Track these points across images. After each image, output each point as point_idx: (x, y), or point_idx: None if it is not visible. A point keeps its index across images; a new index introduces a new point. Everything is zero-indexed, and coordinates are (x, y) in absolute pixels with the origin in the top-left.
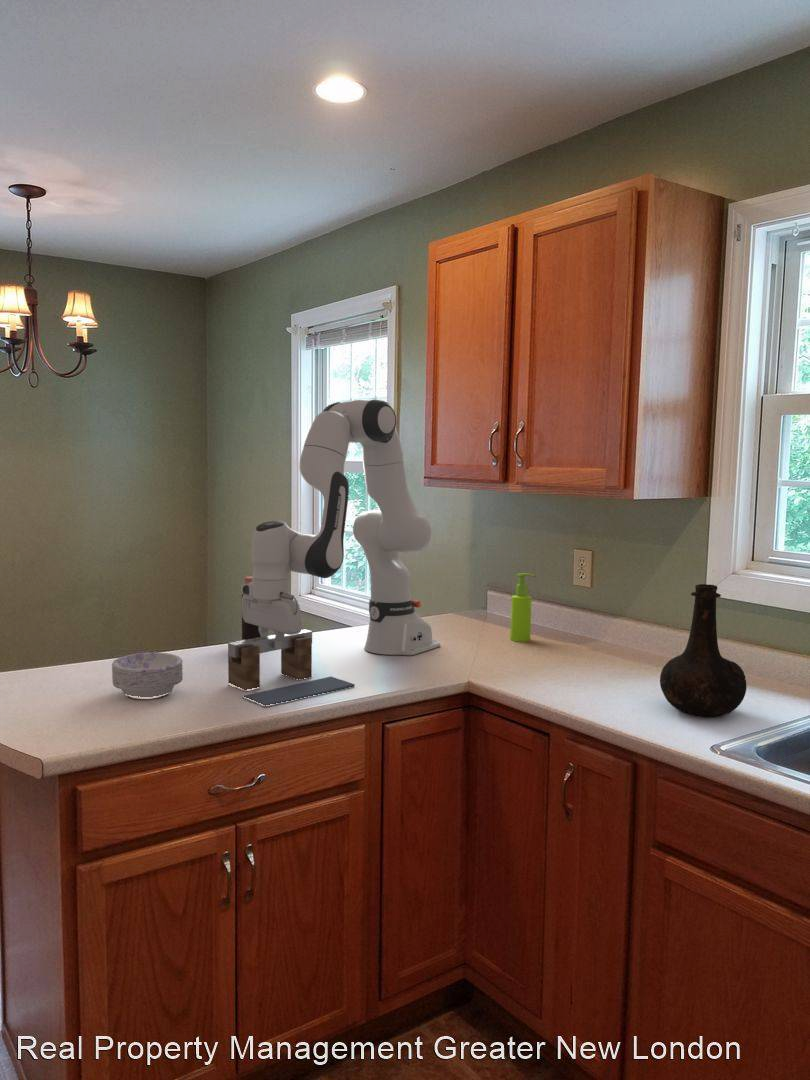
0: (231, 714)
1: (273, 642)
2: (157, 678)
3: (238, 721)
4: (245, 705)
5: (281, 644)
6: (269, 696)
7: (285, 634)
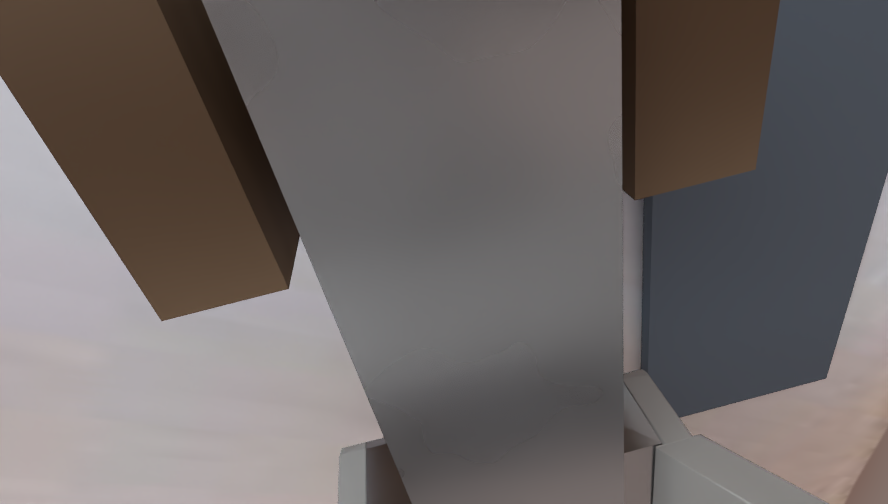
0: (775, 469)
1: (631, 496)
2: None
3: (850, 462)
4: (729, 422)
5: (662, 398)
6: (745, 339)
7: (499, 372)
